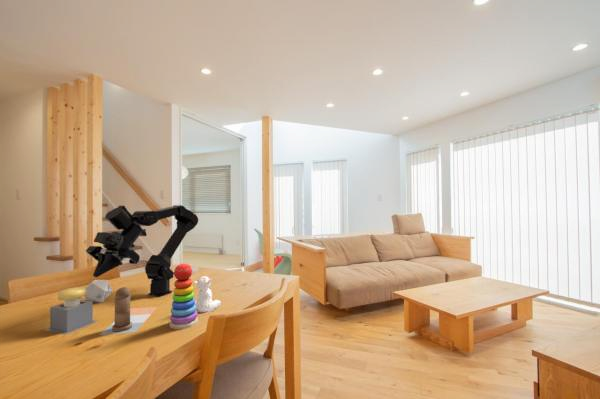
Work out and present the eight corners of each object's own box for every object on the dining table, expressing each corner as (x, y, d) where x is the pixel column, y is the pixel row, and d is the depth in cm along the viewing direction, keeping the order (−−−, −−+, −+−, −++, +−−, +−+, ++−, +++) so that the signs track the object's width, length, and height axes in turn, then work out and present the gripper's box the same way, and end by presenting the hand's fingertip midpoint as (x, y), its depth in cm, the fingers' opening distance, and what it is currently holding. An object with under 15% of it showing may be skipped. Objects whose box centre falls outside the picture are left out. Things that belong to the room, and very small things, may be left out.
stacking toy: (175, 320, 86) (175, 261, 87) (201, 319, 87) (201, 260, 87) (164, 332, 78) (165, 266, 79) (193, 331, 79) (194, 266, 79)
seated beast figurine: (221, 305, 100) (221, 272, 100) (218, 314, 91) (218, 278, 92) (193, 306, 98) (193, 273, 98) (188, 316, 90) (188, 279, 90)
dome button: (76, 310, 85) (76, 286, 85) (90, 312, 83) (91, 287, 83) (52, 318, 79) (52, 292, 79) (67, 320, 77) (67, 294, 77)
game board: (129, 310, 94) (129, 308, 94) (157, 309, 96) (157, 306, 96) (98, 337, 75) (98, 334, 75) (134, 335, 77) (134, 332, 77)
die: (88, 308, 98) (108, 284, 101) (71, 295, 100) (92, 272, 103) (103, 309, 106) (121, 286, 109) (87, 296, 107) (106, 275, 110)
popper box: (77, 320, 87) (77, 297, 87) (98, 323, 84) (98, 300, 84) (43, 332, 78) (43, 308, 78) (65, 337, 75) (65, 311, 76)
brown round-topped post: (125, 323, 82) (125, 284, 83) (135, 326, 80) (136, 286, 81) (108, 330, 78) (109, 288, 78) (119, 333, 76) (119, 290, 76)
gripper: (92, 222, 96) (54, 260, 85) (132, 223, 90) (98, 263, 79) (113, 242, 103) (81, 279, 92) (152, 244, 97) (122, 284, 87)
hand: (94, 276), depth 87 cm, fingers closed
